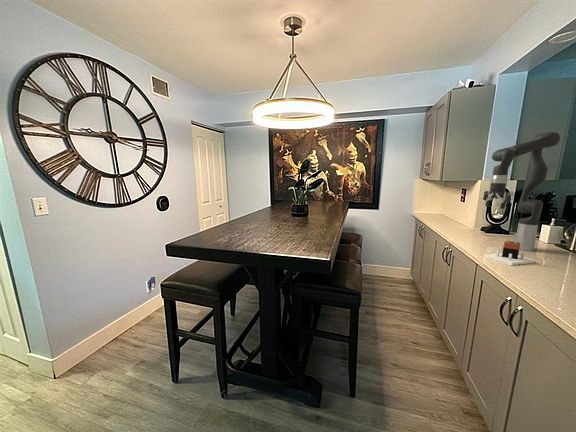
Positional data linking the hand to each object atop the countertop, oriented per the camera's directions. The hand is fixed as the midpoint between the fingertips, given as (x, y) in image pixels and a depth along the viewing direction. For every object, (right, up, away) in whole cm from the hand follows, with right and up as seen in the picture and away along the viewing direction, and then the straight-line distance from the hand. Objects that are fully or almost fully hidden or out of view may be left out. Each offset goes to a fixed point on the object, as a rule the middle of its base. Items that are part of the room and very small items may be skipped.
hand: (494, 207), depth 154 cm
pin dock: (-3, -31, -13) cm, 34 cm away
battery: (-2, -30, -13) cm, 32 cm away
